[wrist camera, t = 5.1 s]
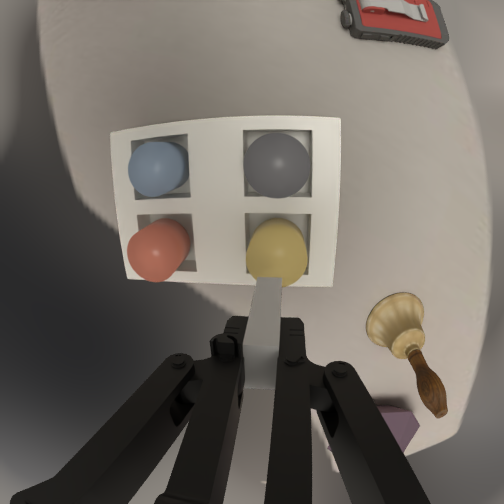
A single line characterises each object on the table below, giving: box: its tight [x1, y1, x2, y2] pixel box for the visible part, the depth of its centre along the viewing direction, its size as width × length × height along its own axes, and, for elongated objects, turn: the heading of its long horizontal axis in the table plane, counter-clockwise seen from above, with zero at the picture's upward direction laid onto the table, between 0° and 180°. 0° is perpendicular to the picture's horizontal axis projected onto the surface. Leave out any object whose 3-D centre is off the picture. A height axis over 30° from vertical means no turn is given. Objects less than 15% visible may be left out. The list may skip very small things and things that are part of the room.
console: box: [110, 116, 341, 287], centre depth 28 cm, size 16×22×4 cm
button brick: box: [127, 218, 190, 282], centre depth 26 cm, size 5×5×4 cm
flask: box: [327, 405, 420, 453], centre depth 31 cm, size 16×16×20 cm
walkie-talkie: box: [341, 0, 449, 49], centre depth 18 cm, size 9×4×20 cm
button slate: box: [128, 142, 189, 197], centre depth 25 cm, size 5×5×4 cm
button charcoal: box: [243, 133, 311, 199], centre depth 22 cm, size 5×5×4 cm
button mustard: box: [246, 218, 307, 287], centre depth 25 cm, size 5×5×4 cm
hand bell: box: [366, 293, 448, 418], centre depth 25 cm, size 8×8×16 cm
